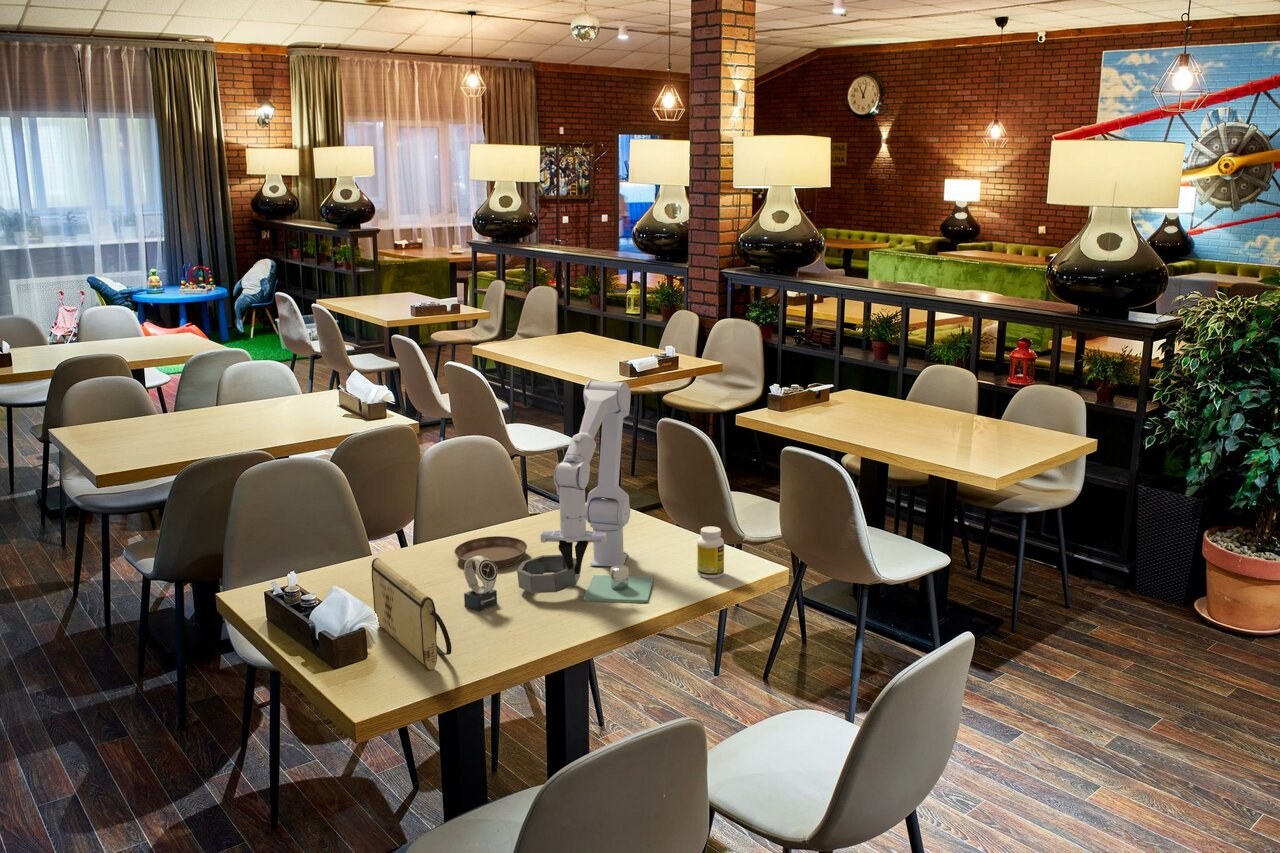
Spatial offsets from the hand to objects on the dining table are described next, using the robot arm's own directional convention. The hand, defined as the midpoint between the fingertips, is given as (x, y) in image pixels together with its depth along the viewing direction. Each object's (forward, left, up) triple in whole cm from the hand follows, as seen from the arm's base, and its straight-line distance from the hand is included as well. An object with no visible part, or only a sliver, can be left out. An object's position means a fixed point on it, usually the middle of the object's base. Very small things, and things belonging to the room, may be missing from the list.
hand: (574, 572), depth 238 cm
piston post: (-1, +10, -4) cm, 11 cm away
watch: (+10, -19, -4) cm, 22 cm away
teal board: (-1, +10, -4) cm, 11 cm away
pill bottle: (-12, +30, -5) cm, 33 cm away
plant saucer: (-19, -24, -5) cm, 31 cm away
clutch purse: (+30, -28, -5) cm, 41 cm away
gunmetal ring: (0, -6, -2) cm, 6 cm away
